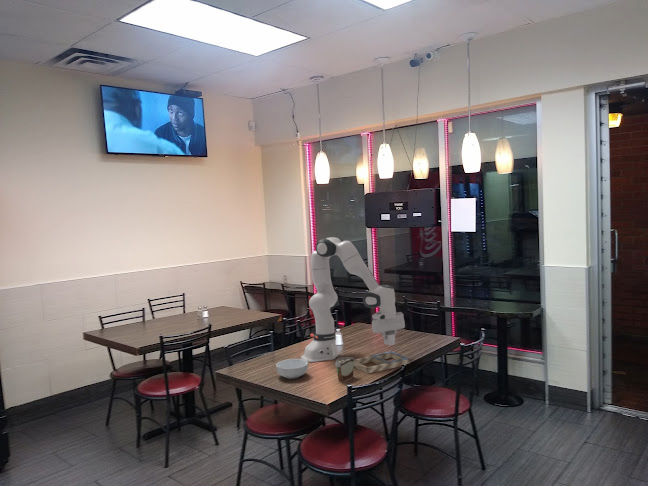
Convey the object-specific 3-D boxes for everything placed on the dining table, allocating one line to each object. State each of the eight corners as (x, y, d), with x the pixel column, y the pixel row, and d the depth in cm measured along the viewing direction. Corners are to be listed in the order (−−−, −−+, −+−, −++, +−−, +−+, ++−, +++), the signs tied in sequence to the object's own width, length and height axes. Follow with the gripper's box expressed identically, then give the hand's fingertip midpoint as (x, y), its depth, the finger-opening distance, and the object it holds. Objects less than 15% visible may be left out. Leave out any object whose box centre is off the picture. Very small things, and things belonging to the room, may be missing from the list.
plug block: (389, 345, 266) (388, 333, 266) (383, 343, 271) (383, 331, 270) (395, 344, 268) (394, 331, 268) (390, 342, 272) (389, 330, 272)
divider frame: (367, 373, 253) (367, 367, 253) (351, 365, 269) (351, 359, 268) (409, 364, 265) (409, 358, 265) (391, 357, 281) (391, 351, 281)
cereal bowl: (270, 377, 255) (269, 364, 255) (294, 369, 267) (293, 356, 267) (291, 384, 243) (290, 370, 243) (315, 375, 255) (314, 362, 255)
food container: (345, 374, 254) (344, 355, 253) (355, 376, 250) (354, 357, 250) (331, 381, 244) (330, 361, 244) (340, 383, 241) (339, 363, 240)
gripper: (399, 310, 276) (401, 334, 277) (369, 315, 267) (370, 340, 267) (406, 312, 270) (407, 336, 271) (375, 317, 261) (377, 342, 262)
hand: (389, 338), depth 269 cm, fingers closed on plug block, 4 cm apart
